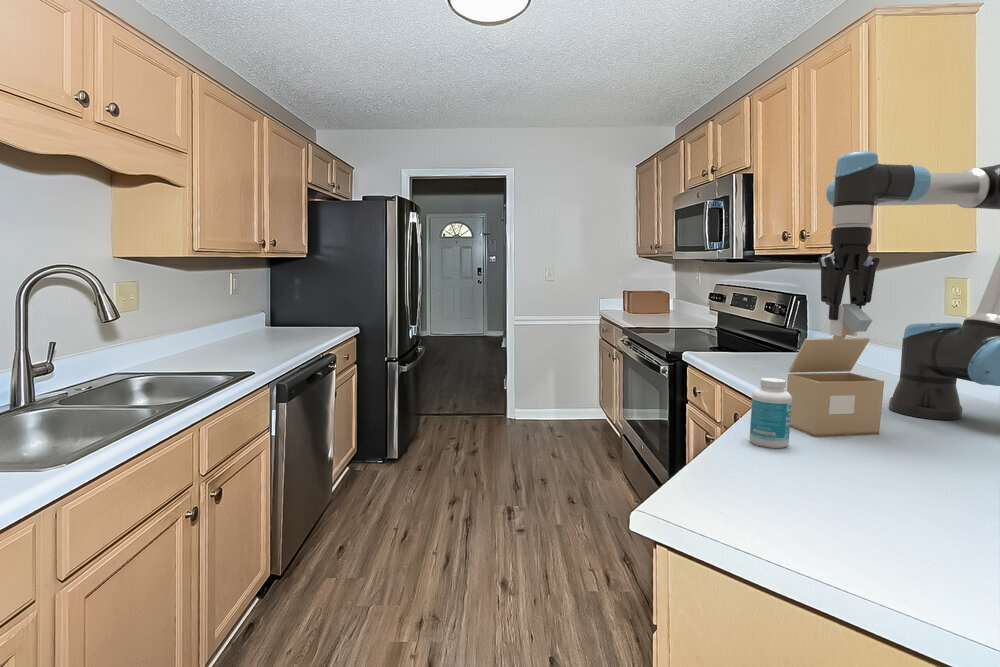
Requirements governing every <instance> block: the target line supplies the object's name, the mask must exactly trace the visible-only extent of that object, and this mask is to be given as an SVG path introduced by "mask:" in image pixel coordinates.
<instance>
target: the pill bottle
mask: <svg viewBox="0 0 1000 667" xmlns="http://www.w3.org/2000/svg"><path fill="white" fill-rule="evenodd" d="M786 381H787V380H785V379H781V378H775V377H761V378H760V381H759V382H760V383H759V384H760V386H761V387H760V388H756V389H755V390H753V392H752V394H751V406H750V407H751V408H750V410H751V411H750V424H749V425H750V426H749V440H750V442H751V443H752V444H754V445H757V446H760V447H762V448H763V447H764V448H769V449H771V448H772V449H782V448H786V447H788V445H789V443H790V432H791V430H790V429H791V427H790V420H791V407H792V396H791V395H790V393H788V392H787V390H785V387H787V385H786Z"/></svg>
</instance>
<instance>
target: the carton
mask: <svg viewBox="0 0 1000 667" xmlns="http://www.w3.org/2000/svg"><path fill="white" fill-rule="evenodd" d="M884 388H885V380H883V379H882V380H880V379H877V378H873V377H869V376H865V375H860V374H856V373H853V372H809V373H787V385H786V391H787V392H788V393H790V395H791V396H792V407H791V420H790V429H794V430H796V431H799V432H801V433H804V434H806V435H808V436H811V437H813V438H827V437H831V438H833V437H849V436H850V437H853V436H855V437H856V436H876V435H877V436H879V435H880V431H881V419H882V409H883V408H882V407H883V400H884Z"/></svg>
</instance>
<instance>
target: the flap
mask: <svg viewBox="0 0 1000 667" xmlns="http://www.w3.org/2000/svg"><path fill="white" fill-rule="evenodd" d="M841 306H844V315H843V327H842V336H836V335H832V337H824V338H823V337H821V338H820V337H812V338H808V337H807V338H804V340H803V342H802V344H801V346H800V348H799V350H798V352H797V354H796V356H795V358H794V360H793V361H792V363H791V365H790V367H789V369H788V373H789V374H794V373H847V372H851V371H852V370H853V368H854V366H855V365H856V363H857V362H858V360H859V358H860V357H861V355H862V353H863V352H864V350H865V349H866V347H867V345H868V343H869V342H870V341H871V339H870V338H869V337H846V336H848V335H847V333H848V331H849V330H850V329H851V330H852V331H853V332H857V333H858V332H861V333H862V332H863V333H865V332H867V330H868V328H870V325H871V324H872V322H873V319H872V318H871V317H870V316H869V315H868V314H867V313H865V312H864V311H863V310H862V308H861V309H860V308H859V307H858V306H857V305H856V304H850V303H841Z"/></svg>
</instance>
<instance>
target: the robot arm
mask: <svg viewBox="0 0 1000 667" xmlns="http://www.w3.org/2000/svg"><path fill="white" fill-rule="evenodd" d="M878 158H879V156H878V153H877V152H873V151H867V150H866V151H854V152H848V153H844V154H841V155H840V156H839V157H838V159H837V161H836V165H835V166H836V167H835V174H834V179H833V180H831V181H830V183H829V184H828V185H827V188H826V195H825V196H826V199H827V201H828V203H829V205H831V206H832V218H831V225H832V226H833V227H834V228H832V230H830V231H831V232H830V245H831V246H832V247H831V249H830V252H829V254H828V255H826V256H820V257H818V263H819V266H820V300H821V302H822V303H825V305H827V306H828V320H829V321H830V326H829V335H831V336H834V335H836V336H842V327H843V315H844V306H842V300H843V295H844V291H845V286H846V282H847V277H848V285H849V286H848V287H849V301H850V302H849V304H856V305H857V306H858V307H859V308H860V309H861V310H862V307H865V306H866V305H867V303H868V304H869V303H871V301H872V297H873V296H872V295H873V290H874V283H875V282H874V281H875V277H876V271H877V267H878V265H879V263H880V258H879V257H873V256H871V255H870V251H869V249H868V248H869V246H870V244H872V236H873V234H872V233H873V229H872V228H871V227H870V226H872V225H873V223H874V222H873V221H874V208H875V206H877V207H878V206H883V207H884V206H919V205H920V206H927V205H928V206H929V205H930V206H932V205H934V206H935V205H956V206H958V207H960V208H963V209H985V210H986V209H988V210H999V211H1000V164H995V165H991V166H985V167H972V168H971V167H970V168H967V169H965V170H963V171H962V172H930V171H929V170H928V169H927V168H926V167H924V166H922V165H913V164H911V163H910V164H887V163H884V164H883V163H879V162H880V161H879V159H878ZM903 333H904V334H903V337H902V343H901V344H902V345H901V358H900V368H899V369H900V372H899V380H898V383H897V385H896V386H895V388H894V391H893V393H892V396H891V397H890V398H889V403H888V409H889V410H890V411H892V412H895V413H898V414H902V415H905V416H910V417H916V418H923V419H930V420H941V421H945V420H946V421H947V420H948V421H949V420H950V421H952V420H953V421H954V420H961V418H963V406H962V405H961V402H960V398H959V397H960V396H959V393H958V388H957V380H964V381H968V382H973V383H976V384H978V385H982V386H987V385H988V386H994V387H1000V254H999V256H998V257H997V260H996V263H995V265H994V268H993V269H992V273H991V274H990V277H989V280H988V282H987V284H986V287H985V289H984V293H983V295H982V297H981V300H980V302H979V305H978V307H977V309H976V312H975V314H973V315H971V316H968V317H965V318H964V320H963V323H959V322H937V323H935V322H934V323H933V322H931V323H929V322H928V323H910V324H908V325H907V326H905V328H904V332H903ZM846 336H852V337H853V336H854V337H857V336H858V332H853V331H852V330H851V329H850V330H849V331H848V333H847V335H846Z"/></svg>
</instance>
